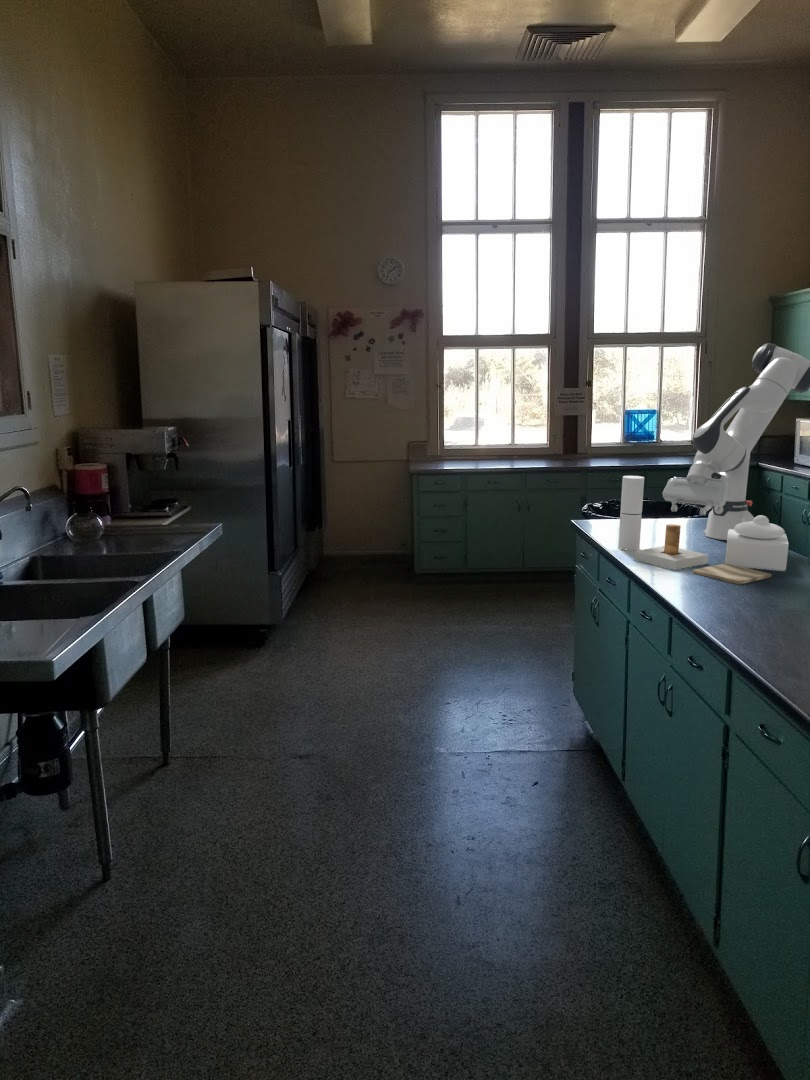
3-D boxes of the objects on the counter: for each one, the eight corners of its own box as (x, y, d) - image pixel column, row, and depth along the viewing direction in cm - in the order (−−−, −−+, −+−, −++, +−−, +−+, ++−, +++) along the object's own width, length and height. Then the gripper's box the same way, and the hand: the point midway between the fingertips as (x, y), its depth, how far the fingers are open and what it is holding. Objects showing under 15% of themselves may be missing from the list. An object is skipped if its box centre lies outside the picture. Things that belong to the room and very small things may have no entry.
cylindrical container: (628, 551, 271) (633, 478, 266) (613, 547, 277) (618, 476, 272) (643, 549, 274) (648, 477, 269) (629, 545, 281) (633, 475, 275)
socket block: (666, 554, 267) (667, 545, 267) (707, 563, 254) (708, 554, 254) (634, 560, 259) (635, 551, 258) (674, 570, 246) (675, 560, 245)
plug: (669, 559, 260) (672, 523, 257) (680, 562, 256) (683, 526, 253) (660, 561, 257) (663, 525, 255) (671, 564, 254) (674, 527, 251)
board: (724, 566, 251) (725, 563, 251) (771, 577, 238) (771, 574, 238) (692, 572, 243) (692, 569, 243) (738, 584, 230) (739, 581, 229)
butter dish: (724, 566, 252) (729, 517, 249) (725, 554, 268) (730, 508, 265) (785, 572, 245) (791, 521, 242) (782, 559, 262) (788, 512, 258)
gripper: (668, 470, 269) (654, 502, 264) (729, 476, 256) (717, 509, 251) (671, 482, 273) (658, 514, 268) (732, 488, 261) (720, 521, 255)
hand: (687, 512), depth 259 cm, fingers open, 8 cm apart
